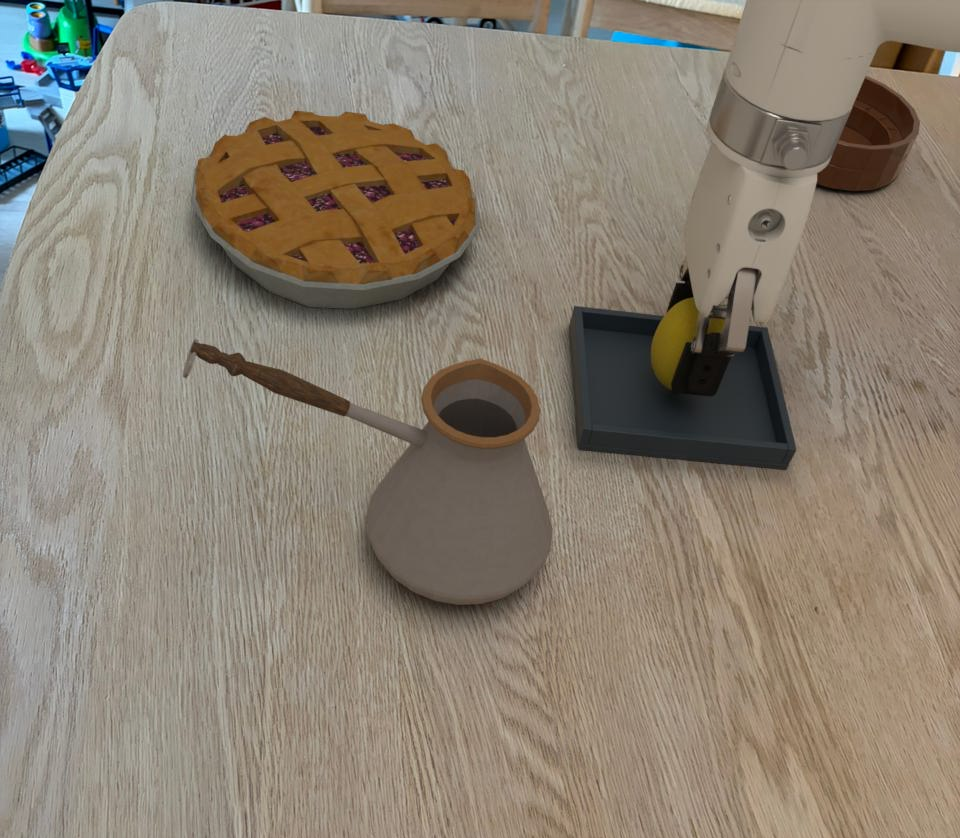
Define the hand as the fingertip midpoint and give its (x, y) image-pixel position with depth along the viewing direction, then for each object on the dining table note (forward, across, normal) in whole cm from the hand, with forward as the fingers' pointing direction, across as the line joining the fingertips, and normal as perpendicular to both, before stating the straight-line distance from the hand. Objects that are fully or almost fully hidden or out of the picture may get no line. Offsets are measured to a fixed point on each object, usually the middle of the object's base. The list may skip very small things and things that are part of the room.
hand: (687, 359), depth 76 cm
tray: (+3, 0, 0) cm, 3 cm away
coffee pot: (+3, -17, +21) cm, 27 cm away
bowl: (+3, +37, -19) cm, 42 cm away
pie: (+3, +15, +26) cm, 30 cm away
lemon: (+3, 0, 0) cm, 3 cm away
